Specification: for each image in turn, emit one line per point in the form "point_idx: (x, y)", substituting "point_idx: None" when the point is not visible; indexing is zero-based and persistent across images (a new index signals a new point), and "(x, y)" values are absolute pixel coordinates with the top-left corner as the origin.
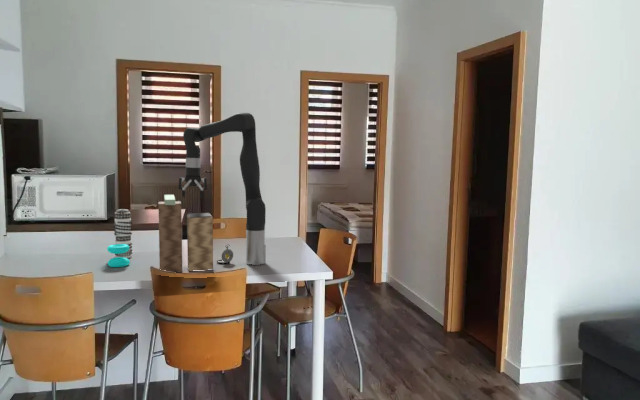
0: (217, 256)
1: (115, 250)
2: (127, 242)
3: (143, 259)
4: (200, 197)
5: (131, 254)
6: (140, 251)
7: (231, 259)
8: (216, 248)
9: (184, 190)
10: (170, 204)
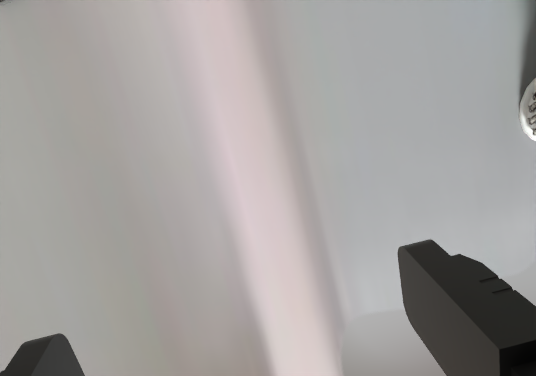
0: (85, 141)
1: None
2: None
3: (458, 46)
4: (70, 355)
5: (529, 107)
6: (496, 224)
7: None
8: (152, 326)
9: (520, 370)
10: None
